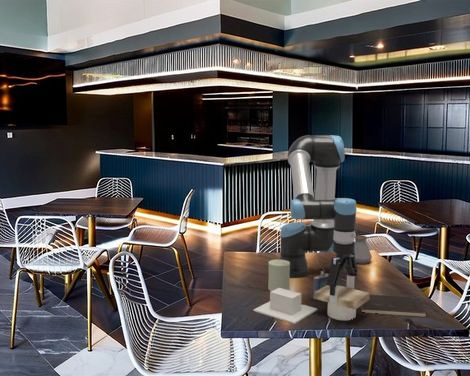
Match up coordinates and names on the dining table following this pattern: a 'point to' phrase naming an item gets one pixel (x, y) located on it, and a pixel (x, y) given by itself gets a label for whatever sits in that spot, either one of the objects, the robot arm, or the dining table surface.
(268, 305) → the stand
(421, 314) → the hardcover book
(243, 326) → the dining table surface
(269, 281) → the can
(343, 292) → the wavy beige panel
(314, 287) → the flask
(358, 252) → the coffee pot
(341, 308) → the bowl
